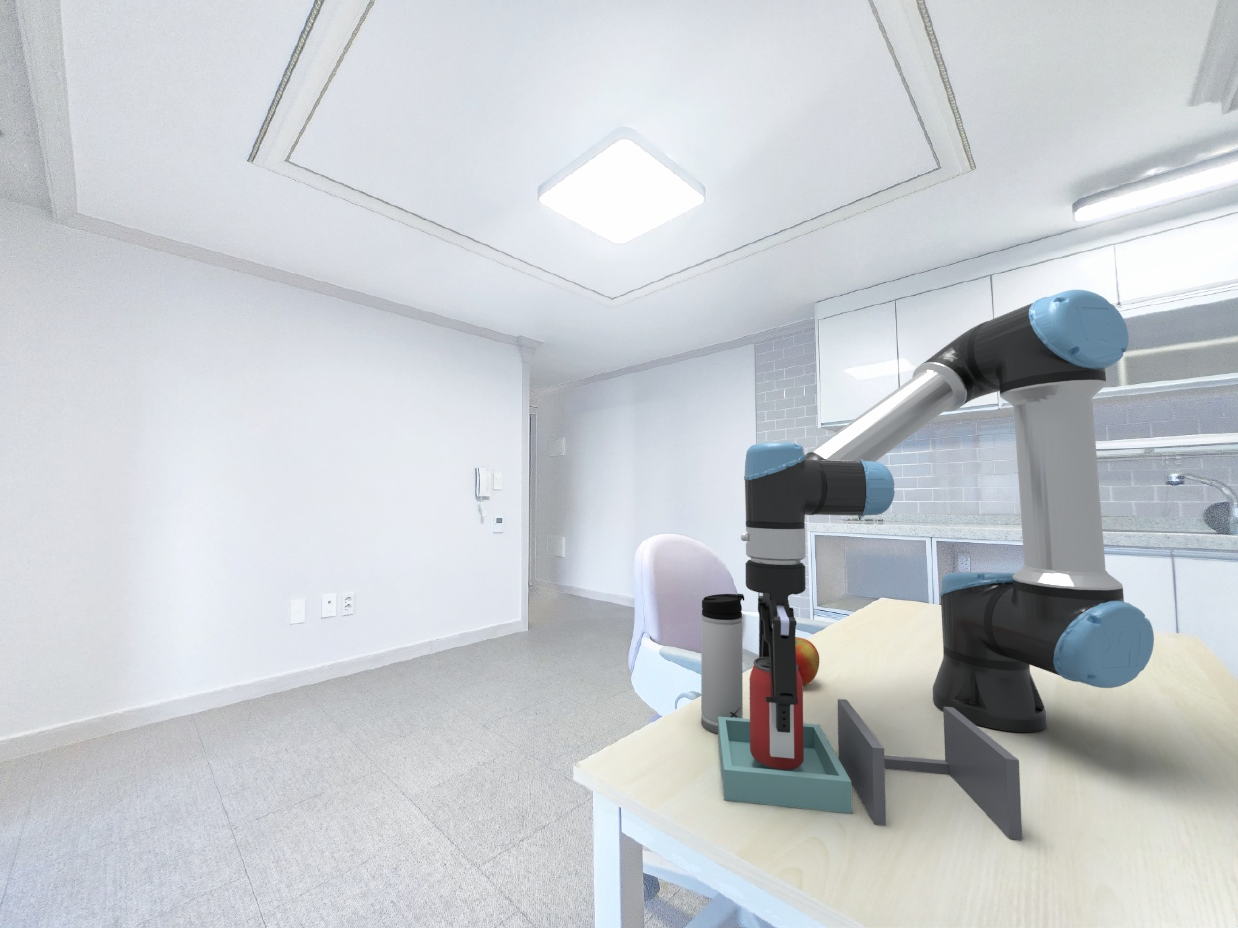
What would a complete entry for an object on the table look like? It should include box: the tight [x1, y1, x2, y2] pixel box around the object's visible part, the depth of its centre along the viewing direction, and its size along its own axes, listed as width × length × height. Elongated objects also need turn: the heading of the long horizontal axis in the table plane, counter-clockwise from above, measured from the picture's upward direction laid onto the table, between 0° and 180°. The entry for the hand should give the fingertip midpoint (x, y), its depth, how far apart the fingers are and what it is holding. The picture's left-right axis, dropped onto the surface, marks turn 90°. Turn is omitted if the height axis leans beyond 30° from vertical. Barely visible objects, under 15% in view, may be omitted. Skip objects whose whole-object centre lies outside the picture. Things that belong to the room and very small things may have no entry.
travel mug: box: [700, 593, 745, 734], centre depth 76 cm, size 6×7×20 cm
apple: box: [795, 636, 820, 687], centre depth 93 cm, size 8×8×10 cm
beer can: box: [749, 657, 804, 771], centre depth 63 cm, size 7×7×12 cm
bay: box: [837, 698, 1023, 841], centre depth 58 cm, size 14×13×8 cm
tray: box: [717, 716, 853, 814], centre depth 62 cm, size 14×14×3 cm
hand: (776, 739), depth 63 cm, fingers open, 7 cm apart
